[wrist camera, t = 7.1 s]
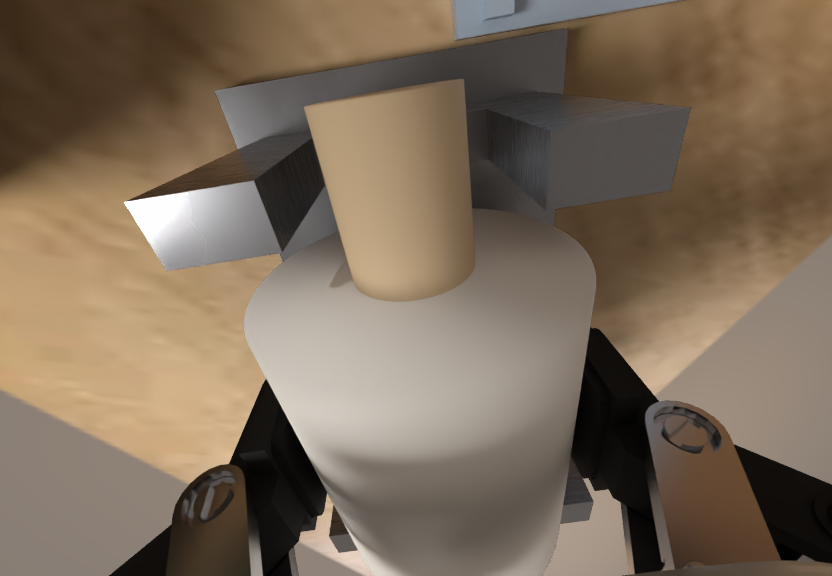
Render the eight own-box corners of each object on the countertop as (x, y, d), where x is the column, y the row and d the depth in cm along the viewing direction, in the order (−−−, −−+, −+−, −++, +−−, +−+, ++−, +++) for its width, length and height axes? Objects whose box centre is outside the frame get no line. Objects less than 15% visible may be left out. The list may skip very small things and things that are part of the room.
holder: (226, 89, 10) (1, 107, 4) (556, 31, 10) (791, -34, 4) (349, 410, 18) (327, 572, 12) (536, 384, 18) (606, 536, 12)
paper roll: (251, 111, 8) (-55, 180, 3) (525, 63, 8) (833, 28, 2) (376, 459, 15) (366, 670, 10) (518, 439, 15) (589, 642, 10)
